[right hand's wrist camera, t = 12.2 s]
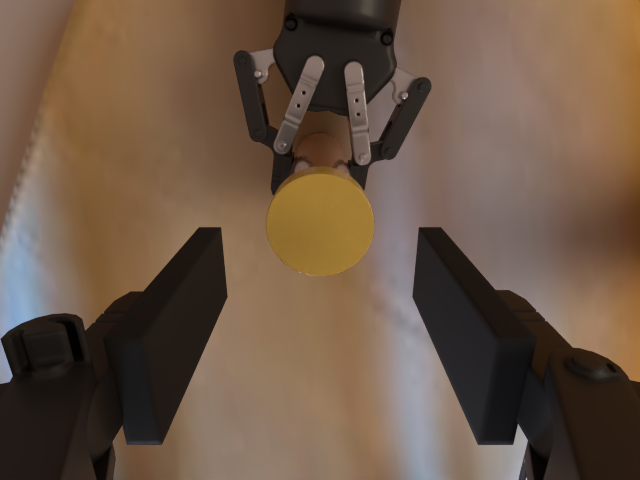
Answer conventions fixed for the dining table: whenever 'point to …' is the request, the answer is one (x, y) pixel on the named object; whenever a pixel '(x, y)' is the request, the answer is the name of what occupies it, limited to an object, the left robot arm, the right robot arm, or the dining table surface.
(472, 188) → the dining table surface
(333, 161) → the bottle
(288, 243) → the lid
